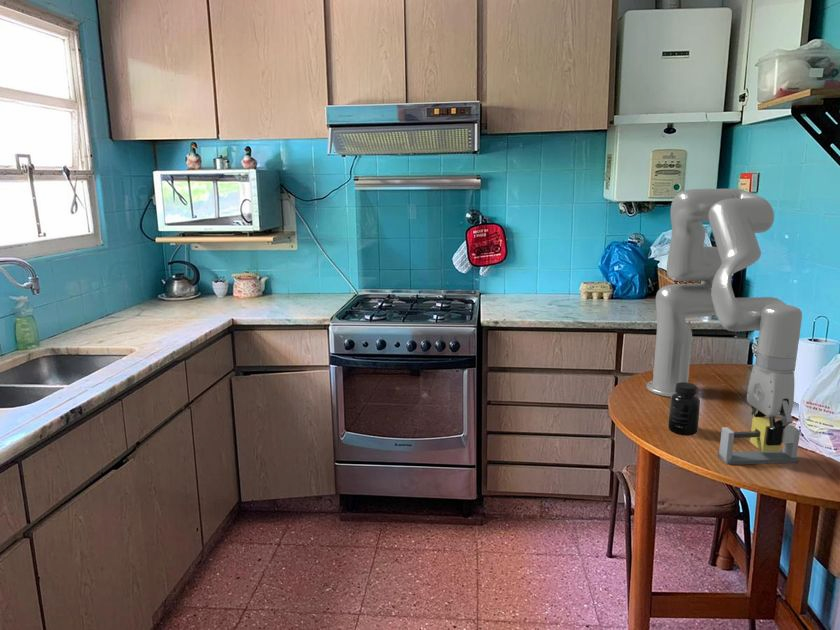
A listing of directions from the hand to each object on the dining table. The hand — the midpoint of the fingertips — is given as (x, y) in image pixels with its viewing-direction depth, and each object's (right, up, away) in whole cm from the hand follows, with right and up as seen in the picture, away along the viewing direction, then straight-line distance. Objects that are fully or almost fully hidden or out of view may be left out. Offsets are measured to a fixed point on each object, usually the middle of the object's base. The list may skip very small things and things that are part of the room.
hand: (765, 438), depth 137 cm
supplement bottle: (-12, -2, +16) cm, 20 cm away
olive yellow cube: (0, -2, +1) cm, 2 cm away
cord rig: (-1, -5, +1) cm, 5 cm away
